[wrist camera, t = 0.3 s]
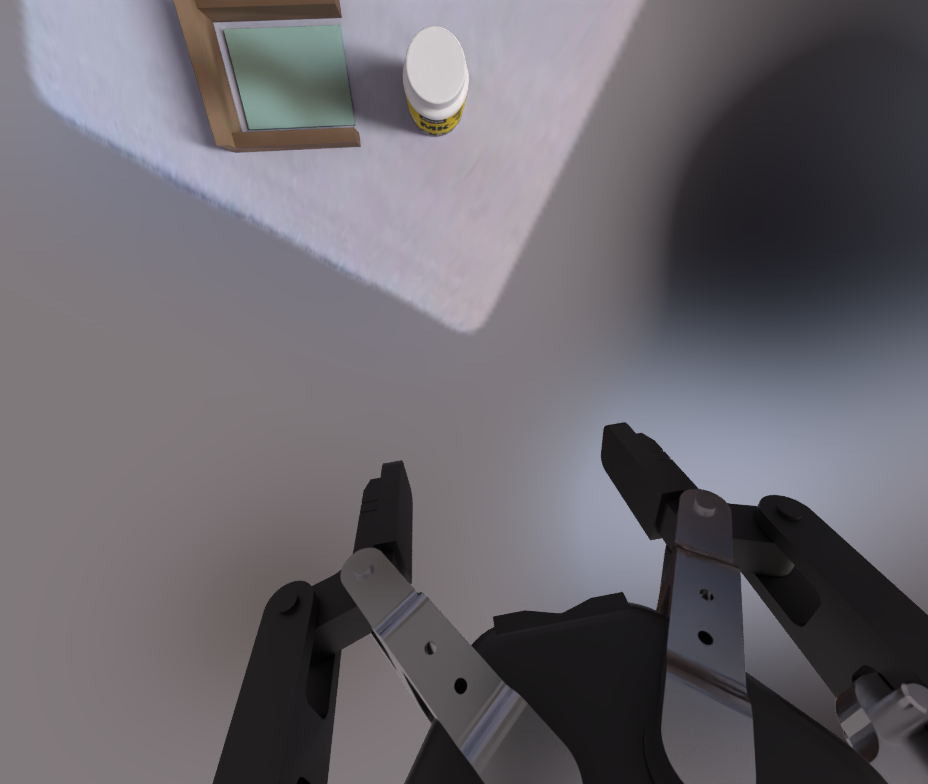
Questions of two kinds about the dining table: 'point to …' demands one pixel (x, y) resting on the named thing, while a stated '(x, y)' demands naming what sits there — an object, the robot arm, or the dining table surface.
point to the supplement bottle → (435, 80)
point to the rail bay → (272, 74)
